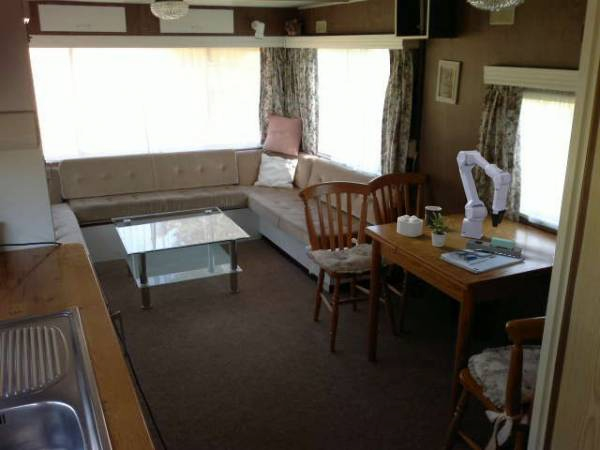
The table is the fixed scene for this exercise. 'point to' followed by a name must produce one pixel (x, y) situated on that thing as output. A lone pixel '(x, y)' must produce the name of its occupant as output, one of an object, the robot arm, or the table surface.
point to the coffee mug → (431, 215)
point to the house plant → (438, 231)
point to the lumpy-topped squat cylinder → (409, 226)
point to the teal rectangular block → (502, 243)
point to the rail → (493, 248)
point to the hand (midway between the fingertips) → (496, 225)
